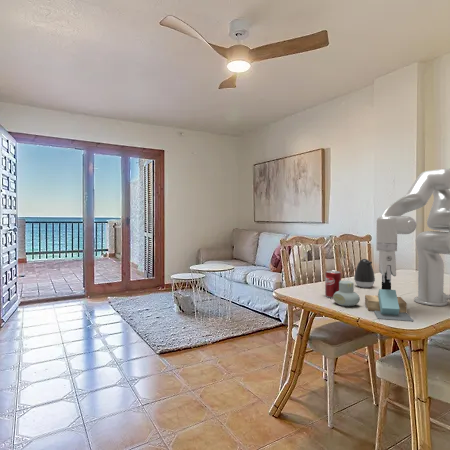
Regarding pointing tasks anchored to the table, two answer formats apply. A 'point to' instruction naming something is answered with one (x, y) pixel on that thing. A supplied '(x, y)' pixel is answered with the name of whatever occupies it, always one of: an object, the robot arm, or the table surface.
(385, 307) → the teal box
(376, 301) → the oak deck
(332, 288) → the soda can
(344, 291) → the air freshener
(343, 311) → the table surface
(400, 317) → the grey mat
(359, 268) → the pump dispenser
